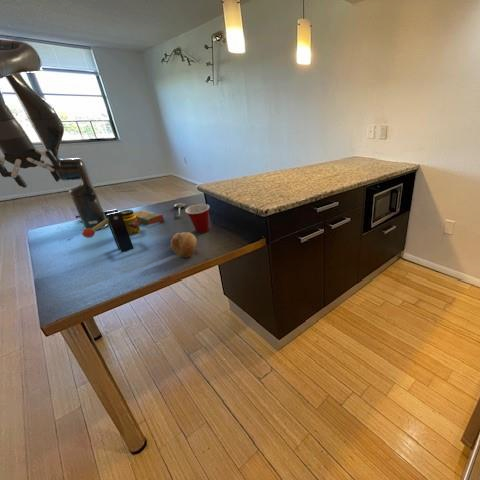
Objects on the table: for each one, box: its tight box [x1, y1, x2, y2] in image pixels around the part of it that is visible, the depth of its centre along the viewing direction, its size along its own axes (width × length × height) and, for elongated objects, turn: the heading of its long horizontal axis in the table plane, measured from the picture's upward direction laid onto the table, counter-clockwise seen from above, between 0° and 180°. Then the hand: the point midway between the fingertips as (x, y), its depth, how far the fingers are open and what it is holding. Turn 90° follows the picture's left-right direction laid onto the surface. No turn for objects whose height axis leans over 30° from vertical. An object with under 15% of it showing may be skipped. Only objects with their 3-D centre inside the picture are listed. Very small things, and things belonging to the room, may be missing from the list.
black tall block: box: [103, 208, 135, 253], centre depth 105 cm, size 12×9×18 cm
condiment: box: [120, 209, 142, 236], centre depth 119 cm, size 7×8×12 cm
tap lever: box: [81, 211, 114, 239], centre depth 99 cm, size 13×4×4 cm, turn 138°
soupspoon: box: [174, 202, 187, 219], centre depth 150 cm, size 22×3×7 cm
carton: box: [133, 209, 165, 226], centre depth 136 cm, size 8×16×4 cm, turn 64°
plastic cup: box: [184, 203, 210, 234], centre depth 125 cm, size 11×11×12 cm
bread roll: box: [170, 231, 198, 258], centre depth 108 cm, size 10×15×8 cm, turn 25°
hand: (41, 183), depth 90 cm, fingers open, 8 cm apart
